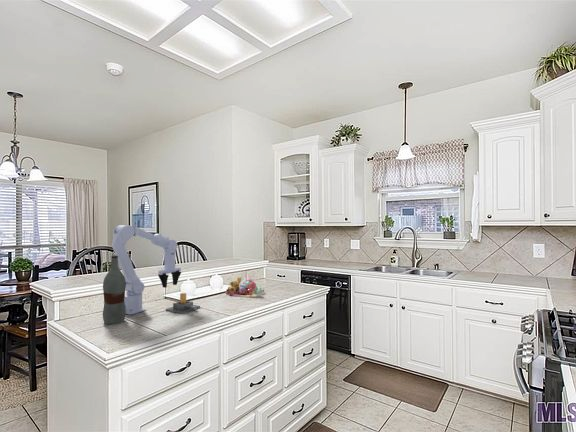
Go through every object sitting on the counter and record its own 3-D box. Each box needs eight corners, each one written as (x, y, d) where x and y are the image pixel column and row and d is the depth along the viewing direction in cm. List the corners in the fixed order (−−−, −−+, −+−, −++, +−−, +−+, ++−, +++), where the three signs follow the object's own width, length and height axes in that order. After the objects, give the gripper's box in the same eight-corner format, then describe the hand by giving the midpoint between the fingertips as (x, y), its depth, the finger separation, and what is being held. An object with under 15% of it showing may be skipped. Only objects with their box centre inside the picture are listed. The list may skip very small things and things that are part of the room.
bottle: (100, 325, 144) (100, 257, 144) (105, 319, 153) (105, 255, 153) (123, 324, 146) (123, 256, 147) (127, 318, 155) (127, 254, 156)
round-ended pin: (183, 308, 168) (183, 294, 168) (178, 307, 169) (178, 294, 169) (187, 306, 171) (187, 293, 171) (182, 306, 172) (182, 292, 172)
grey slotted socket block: (187, 314, 161) (187, 307, 162) (165, 310, 167) (165, 304, 167) (203, 308, 172) (203, 301, 172) (182, 305, 178) (182, 298, 178)
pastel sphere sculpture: (219, 296, 201) (219, 280, 201) (236, 288, 224) (236, 274, 224) (257, 298, 194) (257, 283, 194) (270, 290, 217) (270, 276, 217)
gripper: (165, 263, 173) (165, 289, 172) (184, 260, 186) (184, 284, 186) (155, 262, 175) (155, 288, 175) (175, 259, 189) (175, 283, 189)
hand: (169, 286), depth 181 cm, fingers open, 7 cm apart
